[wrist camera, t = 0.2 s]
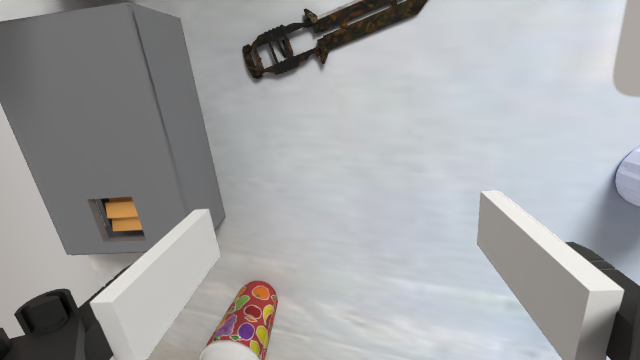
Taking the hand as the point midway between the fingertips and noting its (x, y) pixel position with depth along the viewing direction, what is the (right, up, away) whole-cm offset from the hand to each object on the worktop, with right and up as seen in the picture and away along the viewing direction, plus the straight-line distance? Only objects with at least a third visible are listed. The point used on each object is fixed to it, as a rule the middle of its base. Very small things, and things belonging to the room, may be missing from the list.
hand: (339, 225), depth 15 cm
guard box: (-26, +9, +29) cm, 40 cm away
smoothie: (-11, -17, +37) cm, 43 cm away
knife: (+1, +22, +23) cm, 31 cm away
